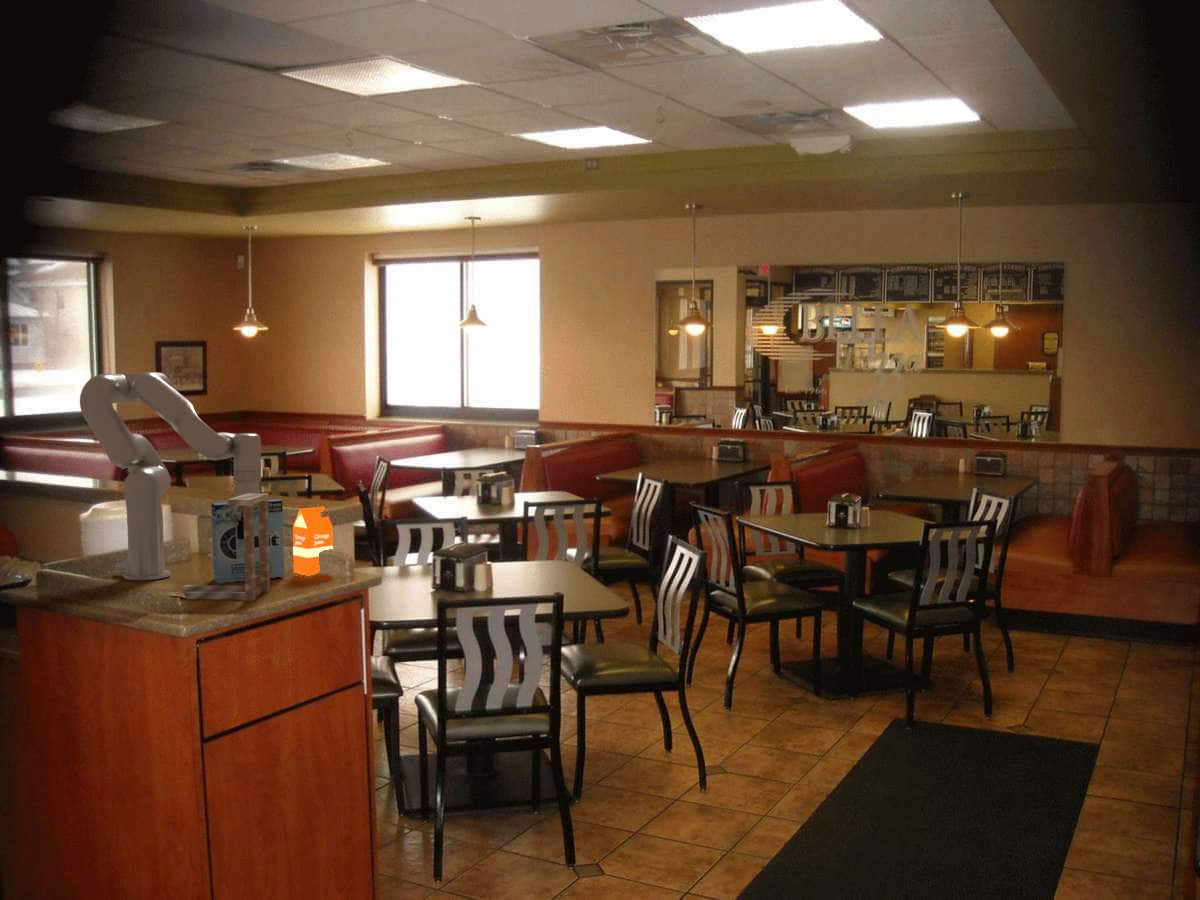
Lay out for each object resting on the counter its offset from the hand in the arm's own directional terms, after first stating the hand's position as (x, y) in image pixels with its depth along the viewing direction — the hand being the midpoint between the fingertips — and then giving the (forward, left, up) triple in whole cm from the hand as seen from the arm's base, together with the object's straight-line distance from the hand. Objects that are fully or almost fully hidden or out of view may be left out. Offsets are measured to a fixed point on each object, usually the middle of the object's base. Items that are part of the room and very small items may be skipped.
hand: (248, 536), depth 323 cm
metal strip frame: (-2, -23, -13) cm, 26 cm away
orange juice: (+16, +9, -13) cm, 23 cm away
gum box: (0, 0, -13) cm, 13 cm away
